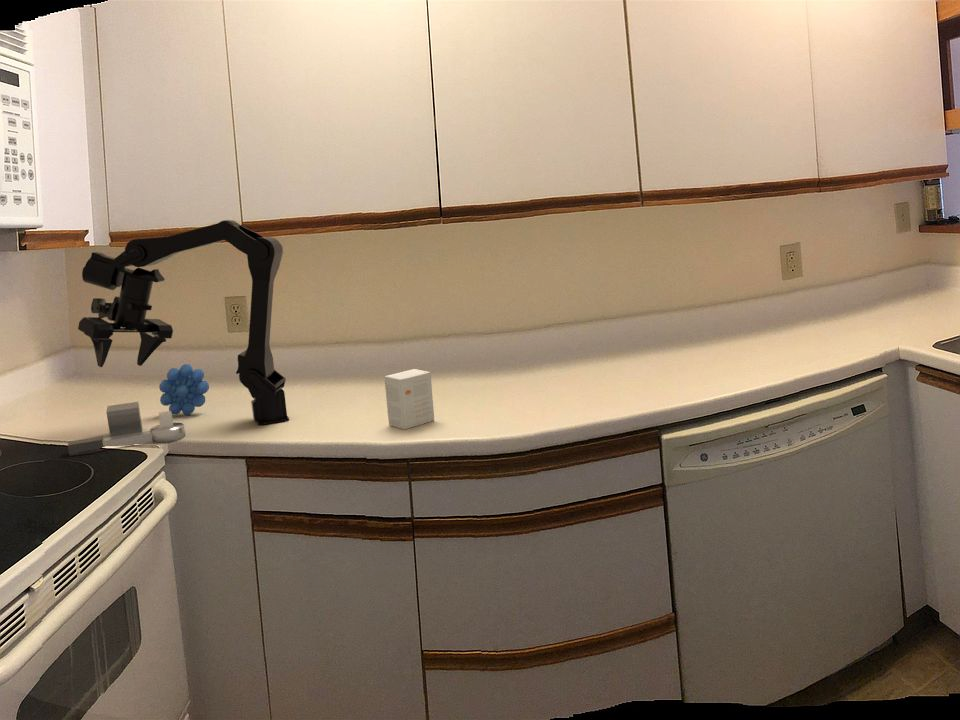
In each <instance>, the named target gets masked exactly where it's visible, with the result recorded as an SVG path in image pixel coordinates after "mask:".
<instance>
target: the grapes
mask: <svg viewBox="0 0 960 720" xmlns="http://www.w3.org/2000/svg"><path fill="white" fill-rule="evenodd" d="M193 369H194V368H193V366H192V365H191V364H190V363H184V364H183V365H181V367H180V368H179V369H178V368H175V367H172V368H170V369H169V370H168V371H167V373H166V377H167V378H166V379H164V380H163V379H162V381H161V382H160V383H159V387H158V388H159V390H160V392H161V393H162V395H161V397H160V398H159V399H160V400H159V402H160V404H161V405H162V406H167V407H168V406H169V407H168V411H171V414H172V415H179V414H180V413H182V414H183V415H185V416H190V415H192V414H193V413H194V411H195V408H200V407H202V406H203V405H204V404H205V403H206V396H205V395H204V394H207V392H208V391H209V390H210V384H209V382H207V380H203V379H204V378H205V373H204V370H202V369H201V368H195V369H194V370H193Z"/></svg>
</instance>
